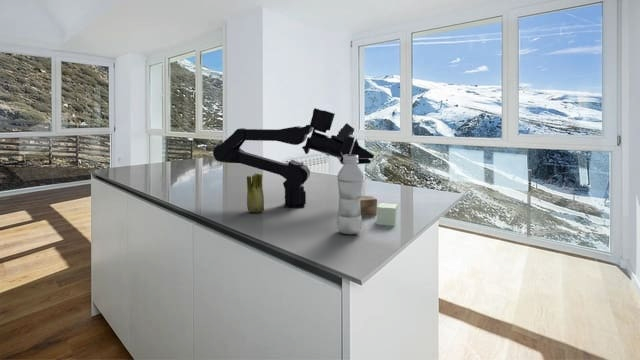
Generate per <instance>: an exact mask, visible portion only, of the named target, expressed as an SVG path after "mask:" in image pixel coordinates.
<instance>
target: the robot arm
mask: <svg viewBox="0 0 640 360" xmlns="http://www.w3.org/2000/svg"><path fill="white" fill-rule="evenodd" d="M335 115H336V113H333V112H331V111H327V110H322V109H319V108H316V107H315V108H313V111H312V117H311V121H310V123H309V124H306V125H304V126H299V125H298V126H291V127H286V128H285V127H284V128H279V129H271V128H270V129H269V128H268V129H267V128H259V129H257V128H254V129H253V128H244V127H242V128H237V129H235V130H234V132H232V133H231V135H230V136H229V137H227V138H226V139H225V140H224V141H222V143H221V144H218V145H216V146H215V147H214V148H213V150H212V155H213V157H214V159H215V161H217V162H219V163H225V164H241V165H245V166H248V167H252V168H255V169H259V170H262V171H265V172H269V173H272V174H275V175H278V176H281V177H283V179H284V182H282V186H283V187H284V208H304V207H305V205H306V204H307V203H306V202H307V199H306V198H307V195H306V193H307V192H306V190H305V187H304V184H305V183H306V181H307V180H309V178H310V177H311V170H310V168H309V167H308V166H307V165H305V163H304V162H299V161H296V160H295V159H291V160H290V161H288V162H287V163H285V162H281V161H278V160H274V159H271V158H269V157H264V156H261V155H258V154H254V153H250V152H247V151H245V150H243V149H241V147H242V146H243V145H244V143H245V142H246V141H259V142H262V141H263V142H264V141H266V142H267V141H268V142H271V141H272V142H280V143H284V144H288V145H293V146H299V145H301V144H303V143H305V145H303V146H302V147H301V149H302V150H303V151H304V154H306V155H308V154H309V153H310V150H313V151H315V152H319V153H322V154H325V156H328V157H329V156H330V157H334V158H337V160H339V163H340V165H342V166H343V165H344V163H343V155H358V161H359V163H357V165H367V164H370V163H371V162H372V161H371V159H374V158H375V155H374V153H372V152H370V151H368V150H366V149H365V148H363V147H362V146H361V145H359V142H358V139H356V137H355V136H353V134H354V132H355V128H354V126H352V125H351V124H350V123H348V122H346V123H345V124H344V125H343V127H342V128H340V130H338V133H337V135H333V134H332V135H331V136H329V135H327V134H326V133H327V131H331V128H332V125H333V121H334V119H335ZM320 132H321V133H320ZM310 133H311V135H310V136H308V135H309V134H310ZM323 133H325V134H323ZM305 141H306V142H305Z"/></svg>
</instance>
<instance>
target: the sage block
mask: <svg viewBox="0 0 640 360" xmlns="http://www.w3.org/2000/svg"><path fill="white" fill-rule="evenodd" d="M397 211H398V204H397V203H383V202H379V203H378V204H377V215H376V225H381V226H390V227H392V226H393V227H395V226H396V223H397V214H398V213H397Z"/></svg>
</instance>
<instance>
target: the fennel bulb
mask: <svg viewBox="0 0 640 360" xmlns="http://www.w3.org/2000/svg"><path fill="white" fill-rule="evenodd" d="M246 186H247V189H246V190H247V191H246V192H247V193H246V207H247V211H248V213H253V214H257V213H262V212H263V211H264V210H265V207H264V206H265V196H264V191H263V174H261V173H254V174H252V176H251V175H247V176H246Z"/></svg>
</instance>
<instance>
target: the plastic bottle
mask: <svg viewBox="0 0 640 360" xmlns="http://www.w3.org/2000/svg"><path fill="white" fill-rule="evenodd" d="M343 163H344V165H342V167H341V168H340V169H339V171H338V173H337V187H338V210H337V216H336V221H335V226H336V229H337V231H338V232H339V233H341V234H343V235H344V234H345V235H356V234H359V233H360V232H361V230H362V226H363V219H362V216H361V208H360V201H361V199H360V198H361V196H362V190H363V184H364V178H365V177H364V173H363V172H362V169H361V168H360V166H359V164H357V163H359V161H358V155H343Z"/></svg>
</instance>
